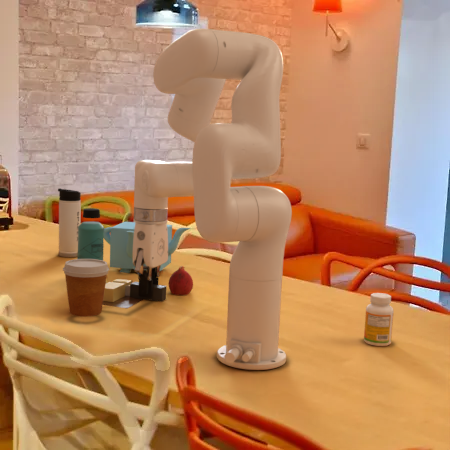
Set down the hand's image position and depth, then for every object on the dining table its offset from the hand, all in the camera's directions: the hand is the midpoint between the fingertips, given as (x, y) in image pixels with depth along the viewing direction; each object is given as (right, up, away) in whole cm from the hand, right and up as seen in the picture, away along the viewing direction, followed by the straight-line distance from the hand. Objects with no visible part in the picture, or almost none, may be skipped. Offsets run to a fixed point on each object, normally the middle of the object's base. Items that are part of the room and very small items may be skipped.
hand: (148, 294), depth 169 cm
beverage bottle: (-16, 0, +12) cm, 20 cm away
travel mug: (-29, +7, +52) cm, 60 cm away
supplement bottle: (+48, -8, -21) cm, 53 cm away
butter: (-8, -1, -1) cm, 8 cm away
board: (-7, -2, +1) cm, 7 cm away
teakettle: (-5, +3, +35) cm, 35 cm away
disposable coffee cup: (-12, -4, -13) cm, 18 cm away
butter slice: (-7, 0, +4) cm, 8 cm away
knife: (-4, 0, +1) cm, 4 cm away
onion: (+7, -2, +7) cm, 10 cm away
